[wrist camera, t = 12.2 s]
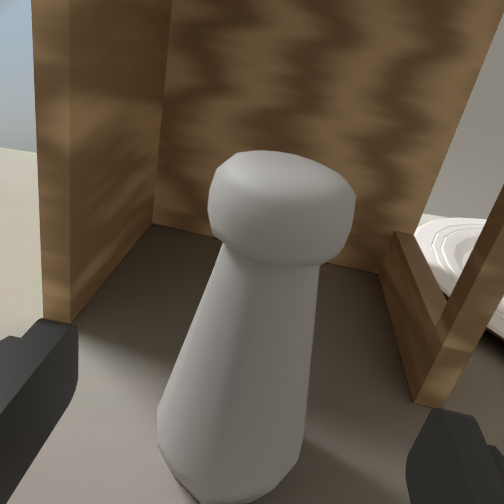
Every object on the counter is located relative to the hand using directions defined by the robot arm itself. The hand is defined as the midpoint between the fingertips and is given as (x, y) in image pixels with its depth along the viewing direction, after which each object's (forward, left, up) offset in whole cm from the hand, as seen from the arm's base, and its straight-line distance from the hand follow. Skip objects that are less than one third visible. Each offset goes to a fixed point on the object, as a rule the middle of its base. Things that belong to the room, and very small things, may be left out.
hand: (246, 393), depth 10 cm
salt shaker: (0, +5, -9) cm, 10 cm away
